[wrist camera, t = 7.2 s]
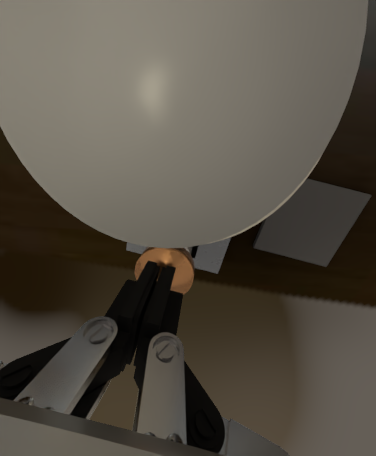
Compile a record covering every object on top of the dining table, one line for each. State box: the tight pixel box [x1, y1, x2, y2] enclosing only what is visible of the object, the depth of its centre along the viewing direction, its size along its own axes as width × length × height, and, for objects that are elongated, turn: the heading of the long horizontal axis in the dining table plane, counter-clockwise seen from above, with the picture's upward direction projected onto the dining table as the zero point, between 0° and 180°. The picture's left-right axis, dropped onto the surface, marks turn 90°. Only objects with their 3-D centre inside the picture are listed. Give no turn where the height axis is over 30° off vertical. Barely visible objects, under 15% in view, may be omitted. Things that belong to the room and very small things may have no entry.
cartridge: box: [0, 0, 368, 248], centre depth 8 cm, size 5×5×13 cm
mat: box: [253, 179, 372, 267], centre depth 19 cm, size 8×8×1 cm
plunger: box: [135, 247, 195, 295], centre depth 15 cm, size 4×4×8 cm
